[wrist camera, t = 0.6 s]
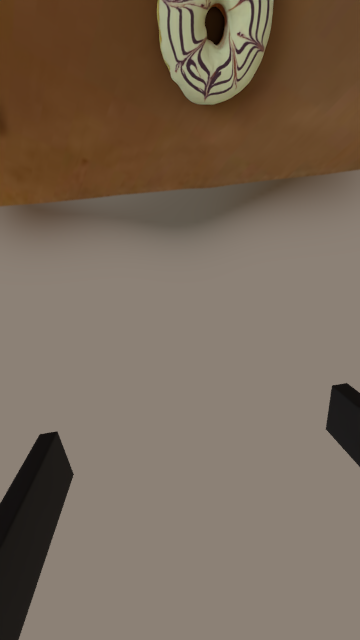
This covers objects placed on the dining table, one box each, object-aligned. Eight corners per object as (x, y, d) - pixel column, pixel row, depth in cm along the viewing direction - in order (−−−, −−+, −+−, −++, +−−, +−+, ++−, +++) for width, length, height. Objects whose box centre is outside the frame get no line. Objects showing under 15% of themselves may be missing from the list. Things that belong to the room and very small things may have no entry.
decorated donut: (190, 122, 28) (195, 130, 26) (132, -8, 21) (133, -13, 18) (273, 55, 25) (289, 57, 23) (241, -130, 17) (259, -156, 15)
